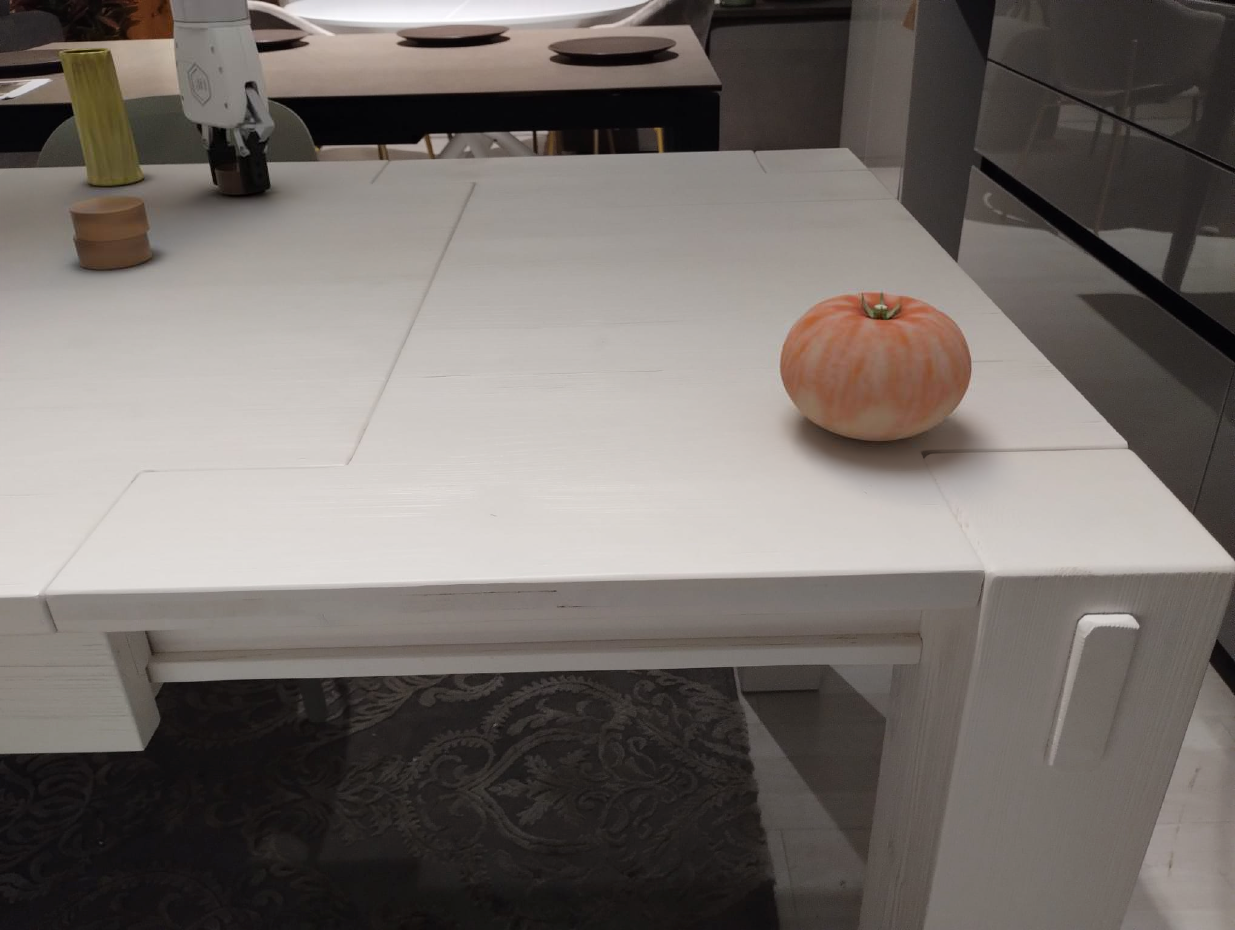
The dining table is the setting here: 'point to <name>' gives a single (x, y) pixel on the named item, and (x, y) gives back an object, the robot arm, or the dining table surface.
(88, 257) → the pile chip bottom
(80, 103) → the vase
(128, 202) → the pile chip top
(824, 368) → the tomato
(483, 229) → the dining table surface
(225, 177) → the walnut chip
